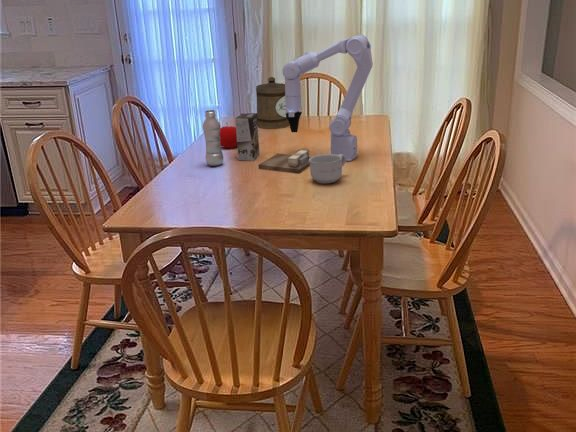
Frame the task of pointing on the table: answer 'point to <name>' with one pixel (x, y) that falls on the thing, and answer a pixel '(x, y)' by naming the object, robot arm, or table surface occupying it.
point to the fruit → (228, 137)
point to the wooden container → (271, 105)
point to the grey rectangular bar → (297, 157)
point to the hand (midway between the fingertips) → (294, 131)
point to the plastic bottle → (212, 139)
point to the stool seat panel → (284, 164)
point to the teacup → (326, 167)
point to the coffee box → (247, 136)
